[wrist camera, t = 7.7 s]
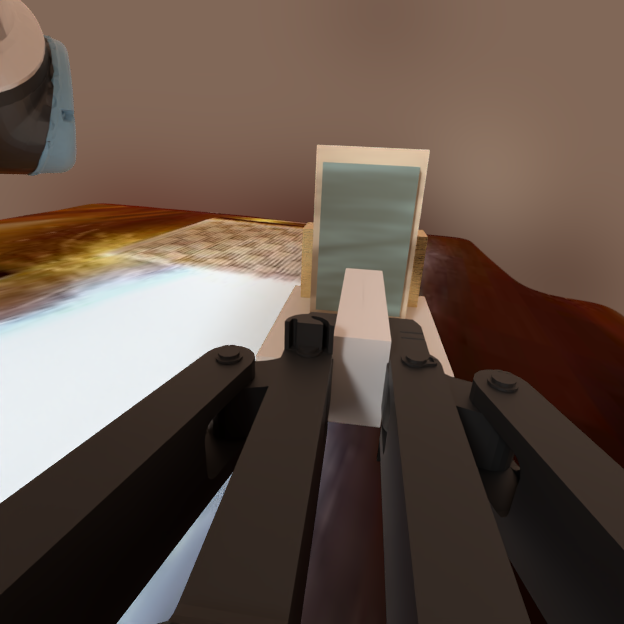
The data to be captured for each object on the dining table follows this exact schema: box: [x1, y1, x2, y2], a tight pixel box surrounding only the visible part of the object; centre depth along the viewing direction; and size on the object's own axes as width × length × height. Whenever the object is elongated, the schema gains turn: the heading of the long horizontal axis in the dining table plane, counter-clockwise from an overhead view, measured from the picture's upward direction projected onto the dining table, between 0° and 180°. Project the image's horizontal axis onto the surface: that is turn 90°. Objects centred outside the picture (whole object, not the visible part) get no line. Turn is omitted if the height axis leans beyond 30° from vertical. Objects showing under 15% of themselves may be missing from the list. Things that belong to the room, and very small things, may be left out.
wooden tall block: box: [310, 145, 430, 319], centre depth 28 cm, size 5×7×12 cm, turn 82°
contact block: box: [301, 222, 428, 307], centre depth 34 cm, size 3×10×6 cm, turn 82°
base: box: [256, 286, 454, 377], centre depth 31 cm, size 14×12×2 cm
